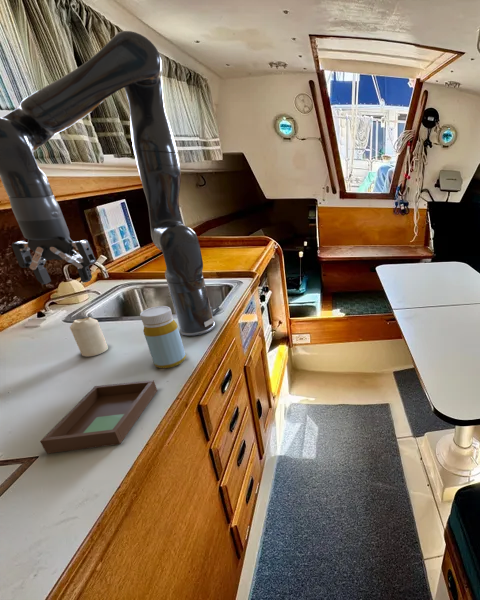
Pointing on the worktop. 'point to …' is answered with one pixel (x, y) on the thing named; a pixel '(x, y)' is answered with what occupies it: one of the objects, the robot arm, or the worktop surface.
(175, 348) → the bottle
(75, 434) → the tray
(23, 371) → the worktop surface
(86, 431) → the corner tile
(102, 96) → the robot arm
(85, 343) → the candle
